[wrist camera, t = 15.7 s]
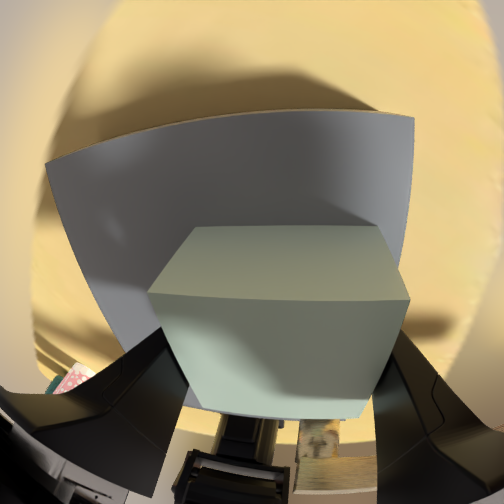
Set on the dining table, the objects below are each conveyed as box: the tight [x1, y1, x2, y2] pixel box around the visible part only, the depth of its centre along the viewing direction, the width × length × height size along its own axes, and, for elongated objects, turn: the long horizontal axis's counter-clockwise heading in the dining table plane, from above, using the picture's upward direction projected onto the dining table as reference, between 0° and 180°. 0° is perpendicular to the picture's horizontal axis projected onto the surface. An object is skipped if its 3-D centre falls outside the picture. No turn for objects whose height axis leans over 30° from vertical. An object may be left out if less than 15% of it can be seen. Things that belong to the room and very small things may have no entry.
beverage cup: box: [53, 362, 96, 394], centre depth 23 cm, size 6×6×14 cm
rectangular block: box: [147, 225, 411, 419], centre depth 9 cm, size 6×6×4 cm
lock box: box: [45, 109, 414, 421], centre depth 14 cm, size 18×14×4 cm
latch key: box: [293, 419, 504, 494], centre depth 10 cm, size 17×2×6 cm, turn 93°
